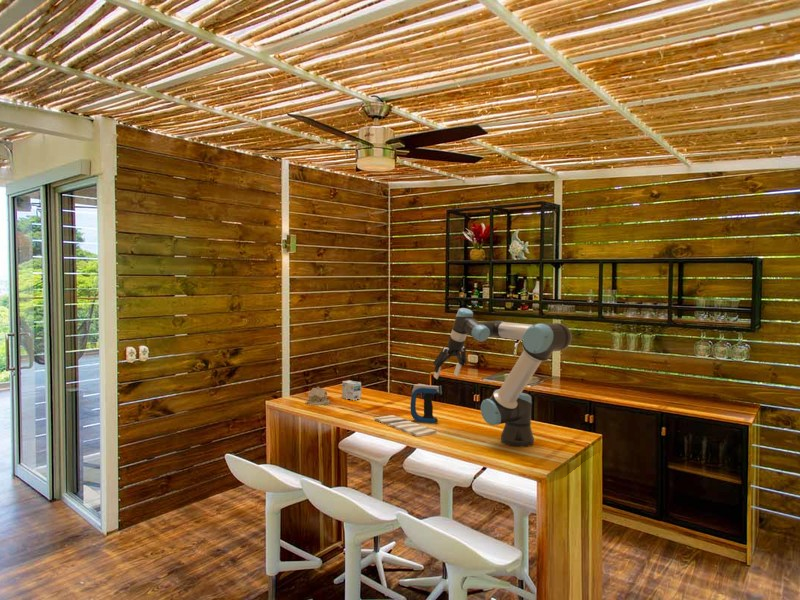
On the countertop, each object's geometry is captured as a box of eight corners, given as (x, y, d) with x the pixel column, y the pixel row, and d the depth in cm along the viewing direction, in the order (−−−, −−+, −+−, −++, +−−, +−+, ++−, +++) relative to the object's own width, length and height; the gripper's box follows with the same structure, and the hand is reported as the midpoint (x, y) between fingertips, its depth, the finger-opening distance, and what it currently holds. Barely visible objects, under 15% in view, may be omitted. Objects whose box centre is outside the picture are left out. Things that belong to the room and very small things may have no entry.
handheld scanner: (440, 424, 277) (441, 386, 277) (409, 421, 280) (410, 384, 280) (441, 422, 281) (442, 385, 281) (411, 419, 285) (412, 383, 284)
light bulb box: (361, 399, 330) (361, 382, 330) (353, 401, 325) (353, 383, 324) (349, 396, 337) (349, 379, 337) (341, 398, 332) (341, 381, 332)
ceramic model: (303, 404, 313) (303, 387, 313) (310, 400, 324) (310, 384, 324) (326, 406, 310) (326, 389, 310) (332, 402, 321) (332, 385, 321)
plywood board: (436, 433, 261) (436, 430, 260) (416, 437, 253) (417, 434, 253) (392, 417, 289) (392, 414, 289) (374, 420, 282) (374, 417, 282)
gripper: (470, 334, 272) (459, 370, 279) (433, 336, 258) (422, 374, 264) (480, 341, 267) (468, 378, 274) (442, 343, 252) (431, 382, 259)
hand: (445, 376), depth 269 cm, fingers open, 13 cm apart
